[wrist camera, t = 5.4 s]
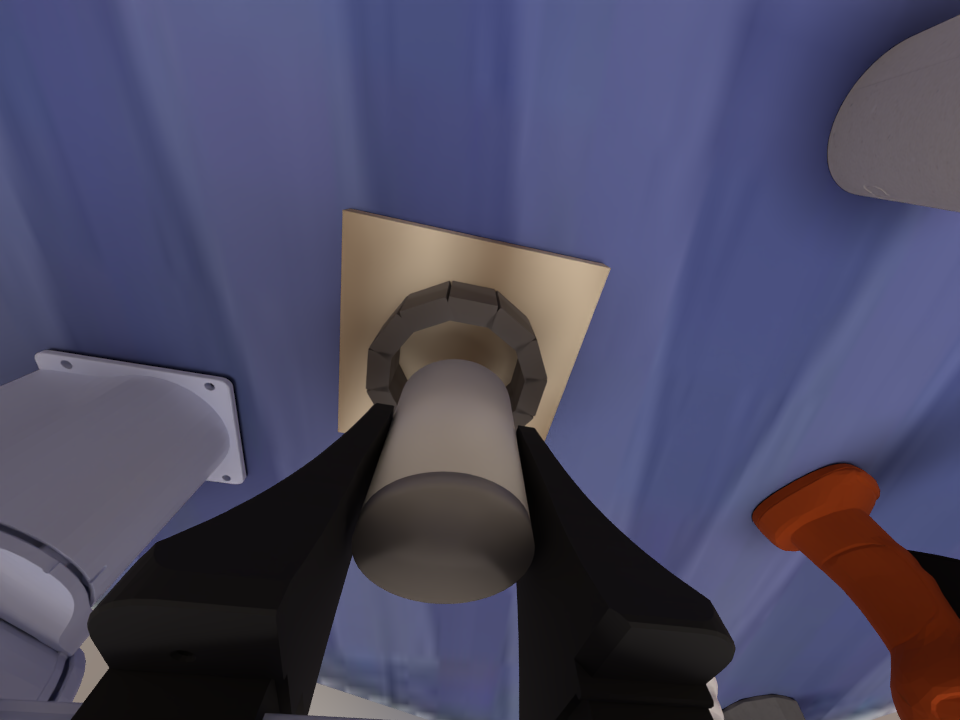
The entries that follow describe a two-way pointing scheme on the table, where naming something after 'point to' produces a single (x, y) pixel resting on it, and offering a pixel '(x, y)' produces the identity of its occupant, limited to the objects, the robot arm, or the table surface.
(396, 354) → the square plate with ring
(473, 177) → the table surface
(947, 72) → the dixie cup
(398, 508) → the grey cylinder
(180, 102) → the table surface
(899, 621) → the toy drill
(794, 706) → the coffeepot
